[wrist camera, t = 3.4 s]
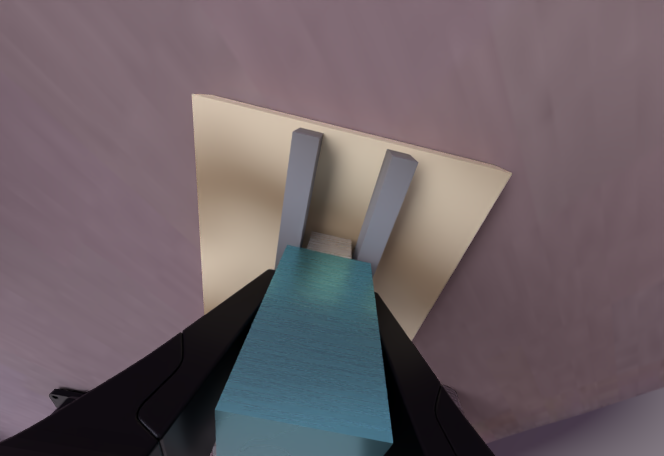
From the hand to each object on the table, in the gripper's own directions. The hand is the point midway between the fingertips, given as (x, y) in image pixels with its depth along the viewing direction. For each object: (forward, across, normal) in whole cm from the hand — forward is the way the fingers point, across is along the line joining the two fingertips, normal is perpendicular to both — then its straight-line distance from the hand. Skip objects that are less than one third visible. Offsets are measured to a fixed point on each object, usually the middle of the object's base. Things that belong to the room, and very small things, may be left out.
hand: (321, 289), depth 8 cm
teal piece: (+2, 0, +5) cm, 5 cm away
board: (+3, 0, +6) cm, 7 cm away
